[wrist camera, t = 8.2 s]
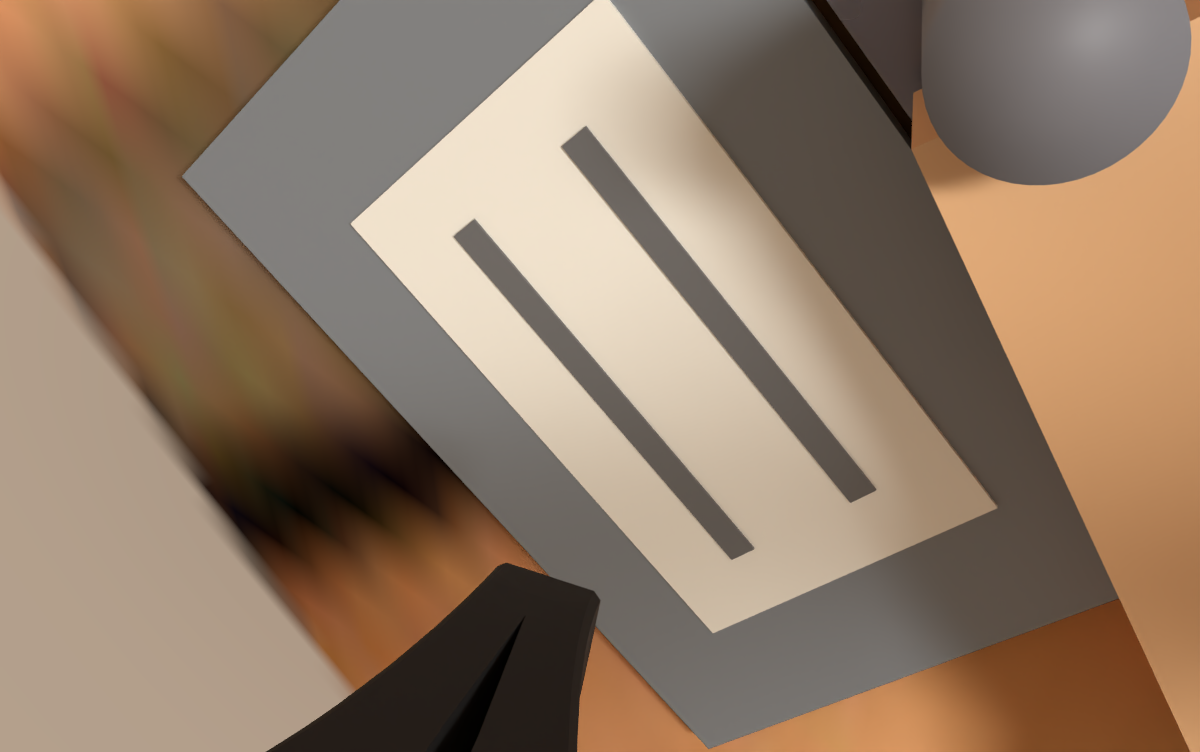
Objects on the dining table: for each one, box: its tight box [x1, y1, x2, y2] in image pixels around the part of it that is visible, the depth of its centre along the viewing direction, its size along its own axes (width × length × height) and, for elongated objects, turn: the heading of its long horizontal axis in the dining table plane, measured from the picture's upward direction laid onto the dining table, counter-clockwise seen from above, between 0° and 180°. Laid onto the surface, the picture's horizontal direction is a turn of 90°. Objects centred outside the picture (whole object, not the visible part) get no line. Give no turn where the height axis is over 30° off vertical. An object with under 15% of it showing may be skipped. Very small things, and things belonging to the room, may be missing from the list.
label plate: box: [182, 0, 1119, 749], centre depth 20 cm, size 18×12×1 cm, turn 41°
